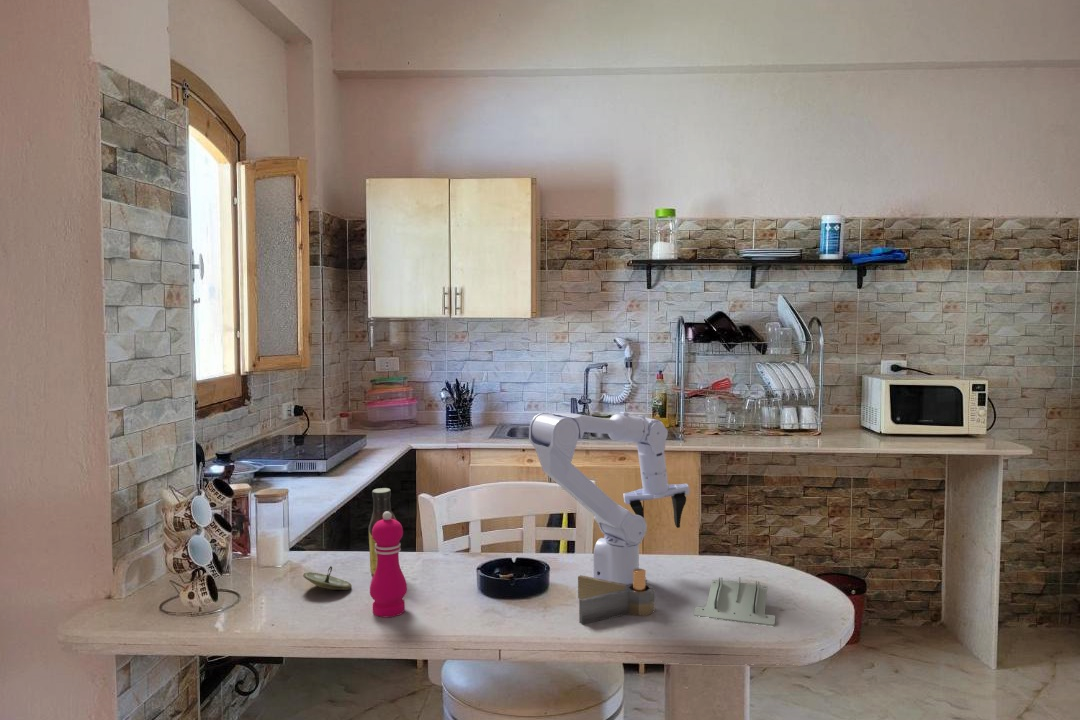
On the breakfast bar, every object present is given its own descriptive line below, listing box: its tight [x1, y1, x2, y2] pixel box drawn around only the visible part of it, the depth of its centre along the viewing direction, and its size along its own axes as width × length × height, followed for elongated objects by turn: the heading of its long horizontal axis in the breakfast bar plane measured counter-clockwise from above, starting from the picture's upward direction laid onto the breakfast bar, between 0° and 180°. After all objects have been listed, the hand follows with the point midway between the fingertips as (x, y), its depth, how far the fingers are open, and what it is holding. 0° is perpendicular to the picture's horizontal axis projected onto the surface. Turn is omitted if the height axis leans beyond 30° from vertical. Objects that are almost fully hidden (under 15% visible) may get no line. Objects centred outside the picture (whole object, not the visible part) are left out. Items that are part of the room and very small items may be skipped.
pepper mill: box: [369, 511, 408, 618], centre depth 158 cm, size 7×7×20 cm
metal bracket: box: [693, 576, 776, 627], centre depth 159 cm, size 14×6×15 cm
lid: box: [302, 566, 352, 591], centre depth 170 cm, size 11×10×5 cm
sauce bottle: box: [368, 487, 400, 580], centre depth 177 cm, size 7×6×20 cm
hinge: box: [577, 574, 655, 625], centre depth 157 cm, size 16×15×4 cm
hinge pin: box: [633, 568, 646, 592], centre depth 158 cm, size 2×2×8 cm
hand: (660, 528), depth 180 cm, fingers open, 7 cm apart
